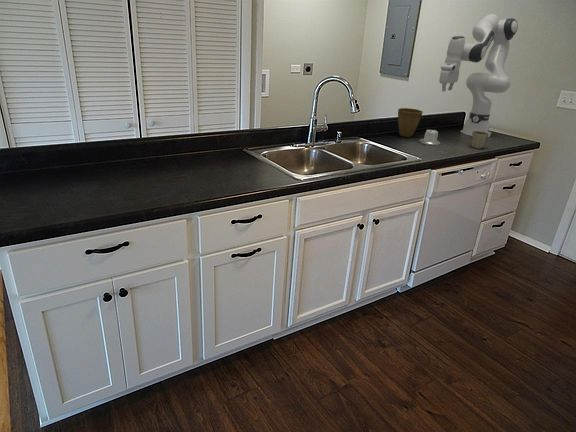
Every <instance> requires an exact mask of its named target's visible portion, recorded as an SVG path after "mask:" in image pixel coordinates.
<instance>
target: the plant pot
mask: <svg viewBox="0 0 576 432" xmlns="http://www.w3.org/2000/svg"><path fill="white" fill-rule="evenodd" d="M423 113H424V112H423V110H419V109H416V108H408V107H401V108H398V109H397V123H398V125H397V126H398V131H399V132H398V133H399V136H400V137H404V138H412V136H413V134H414V133H415V132H416V131H417V128H418V125H419V124H420V121H421V118H422V116H423Z"/></svg>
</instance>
